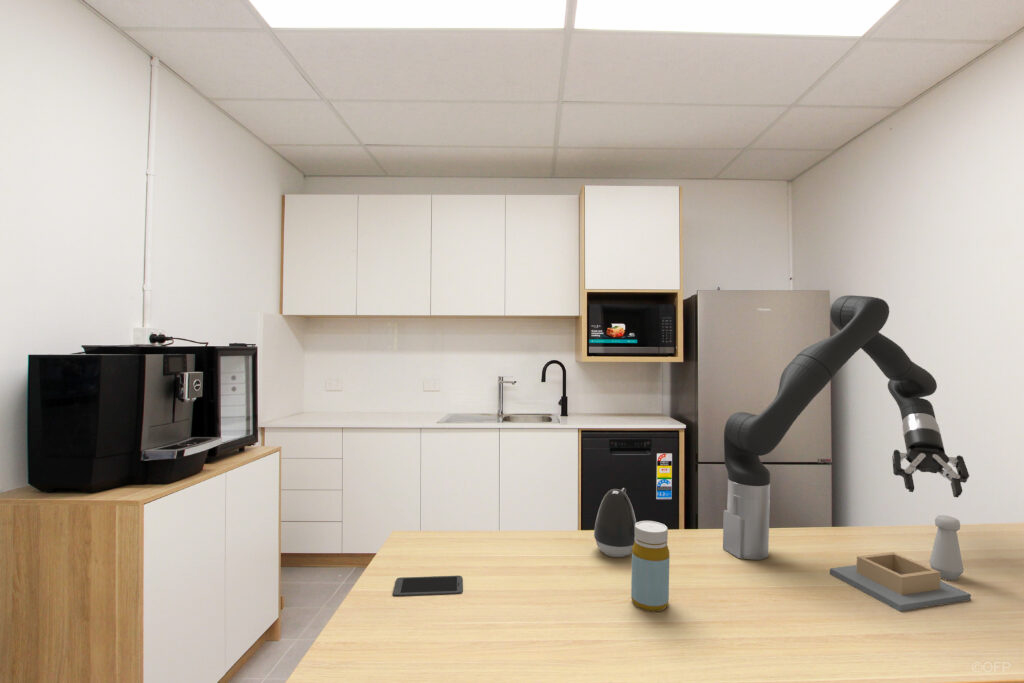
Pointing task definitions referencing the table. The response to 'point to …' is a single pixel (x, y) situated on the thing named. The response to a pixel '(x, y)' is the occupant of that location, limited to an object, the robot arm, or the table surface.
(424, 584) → the cell phone
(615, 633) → the table surface
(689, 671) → the table surface
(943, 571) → the salt shaker
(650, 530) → the bottle
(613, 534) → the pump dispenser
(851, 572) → the holder
